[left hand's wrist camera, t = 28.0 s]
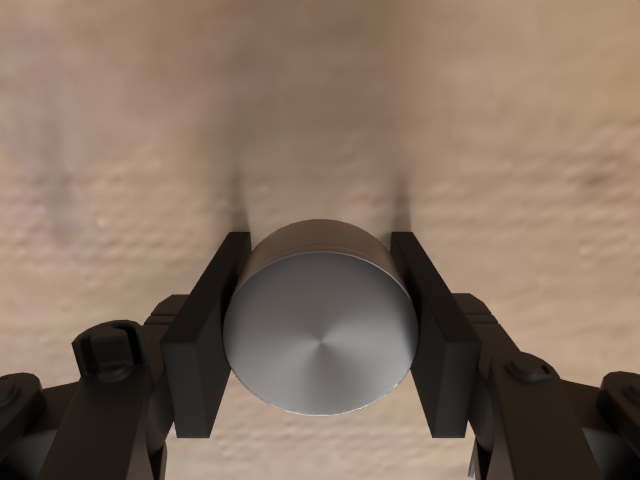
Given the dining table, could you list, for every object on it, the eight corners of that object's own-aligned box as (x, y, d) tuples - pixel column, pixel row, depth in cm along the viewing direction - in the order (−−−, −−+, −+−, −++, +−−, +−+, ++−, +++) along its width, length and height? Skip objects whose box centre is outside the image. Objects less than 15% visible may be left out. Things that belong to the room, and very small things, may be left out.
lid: (251, 365, 13) (237, 421, 11) (227, 224, 11) (204, 258, 9) (401, 356, 13) (418, 410, 11) (401, 212, 11) (422, 243, 9)
